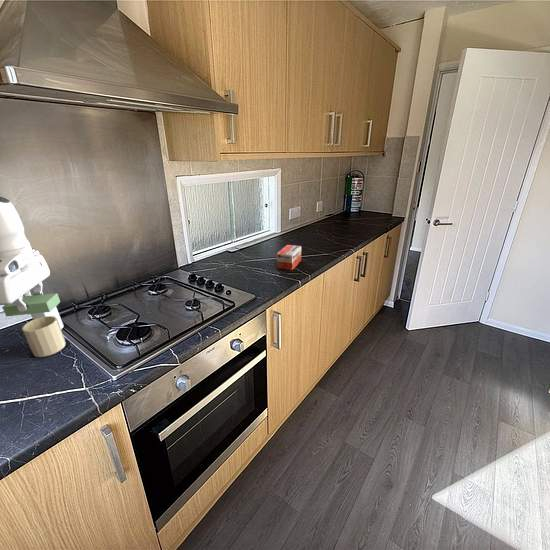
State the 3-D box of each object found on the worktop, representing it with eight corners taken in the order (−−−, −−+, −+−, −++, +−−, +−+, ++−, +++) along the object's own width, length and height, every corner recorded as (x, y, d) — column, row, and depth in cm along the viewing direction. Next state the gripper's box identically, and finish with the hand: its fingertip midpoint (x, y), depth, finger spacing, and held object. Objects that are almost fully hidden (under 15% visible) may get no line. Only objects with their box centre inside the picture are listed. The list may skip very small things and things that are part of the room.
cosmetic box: (51, 328, 100) (39, 296, 95) (64, 327, 100) (52, 295, 96) (40, 338, 94) (26, 305, 90) (54, 337, 95) (41, 304, 90)
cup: (27, 358, 85) (15, 332, 82) (42, 342, 92) (32, 317, 89) (57, 355, 86) (47, 329, 83) (70, 338, 94) (61, 314, 90)
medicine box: (292, 270, 141) (292, 255, 138) (276, 268, 144) (276, 253, 140) (301, 260, 154) (301, 245, 150) (287, 258, 156) (286, 244, 153)
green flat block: (6, 316, 81) (1, 307, 79) (19, 306, 86) (15, 297, 85) (49, 312, 82) (46, 302, 81) (60, 302, 88) (57, 293, 86)
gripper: (24, 247, 87) (40, 289, 92) (-30, 273, 68) (-5, 324, 74) (47, 245, 88) (62, 287, 93) (0, 271, 69) (22, 321, 75)
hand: (32, 303), depth 83 cm, fingers closed on green flat block, 6 cm apart
